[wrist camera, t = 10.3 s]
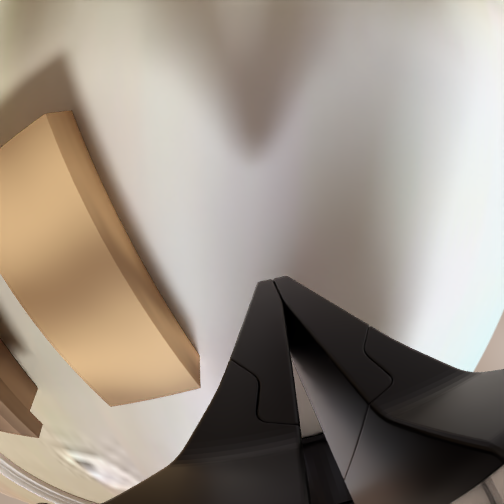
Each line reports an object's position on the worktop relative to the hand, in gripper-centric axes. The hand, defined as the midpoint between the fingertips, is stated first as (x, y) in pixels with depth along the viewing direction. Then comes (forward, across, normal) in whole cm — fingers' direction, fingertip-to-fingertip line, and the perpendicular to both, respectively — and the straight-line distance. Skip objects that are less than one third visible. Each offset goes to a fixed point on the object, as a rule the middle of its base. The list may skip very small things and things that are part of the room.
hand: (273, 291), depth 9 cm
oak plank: (+4, +7, 0) cm, 8 cm away
